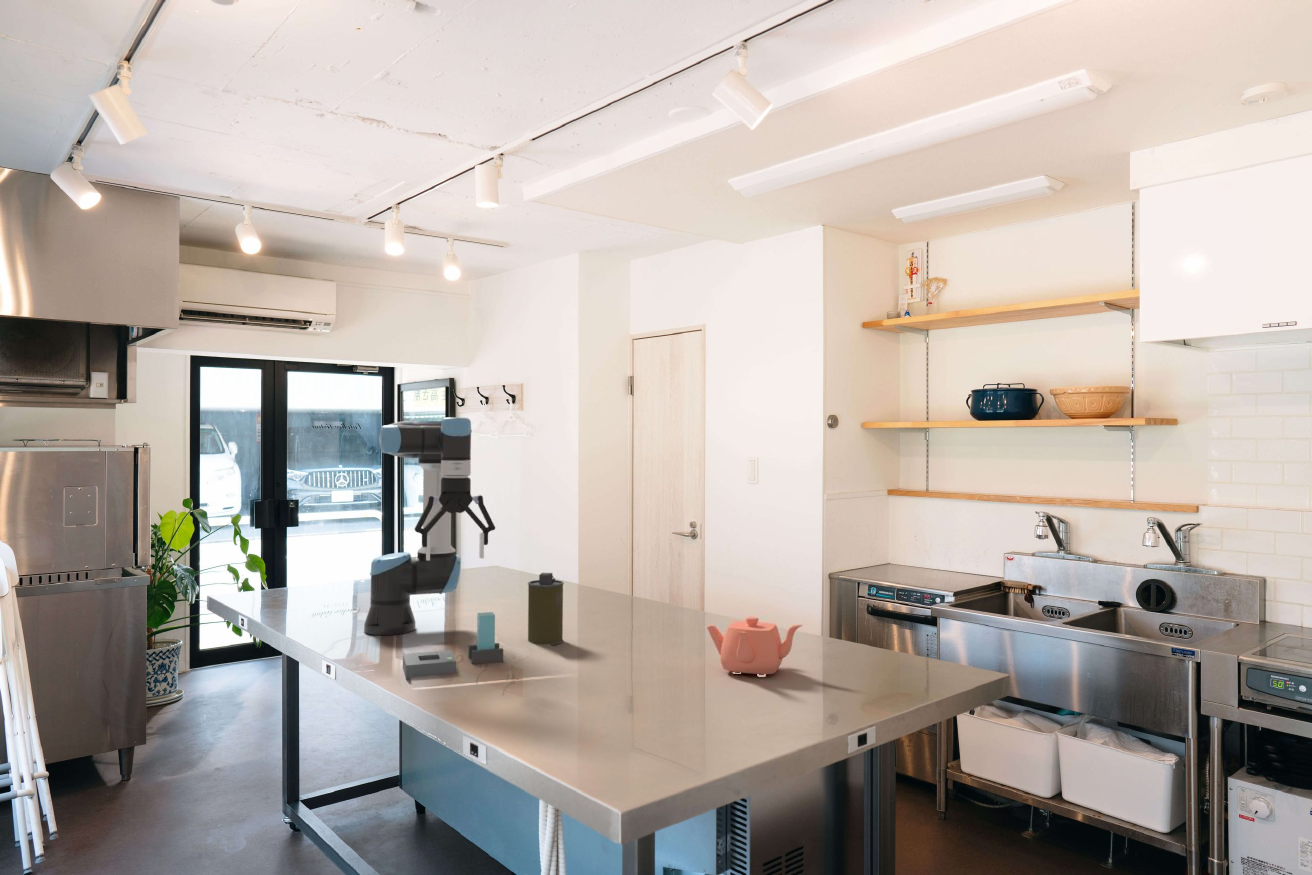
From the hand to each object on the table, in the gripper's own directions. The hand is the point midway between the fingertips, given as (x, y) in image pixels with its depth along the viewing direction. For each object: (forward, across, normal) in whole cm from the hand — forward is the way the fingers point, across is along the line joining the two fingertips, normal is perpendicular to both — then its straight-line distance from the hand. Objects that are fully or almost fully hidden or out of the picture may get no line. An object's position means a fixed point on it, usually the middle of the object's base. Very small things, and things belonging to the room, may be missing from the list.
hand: (455, 558), depth 217 cm
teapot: (+28, +72, -30) cm, 82 cm away
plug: (+27, +8, +2) cm, 29 cm away
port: (+28, -6, -3) cm, 29 cm away
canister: (+28, +28, +19) cm, 44 cm away
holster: (+28, +8, +2) cm, 29 cm away
